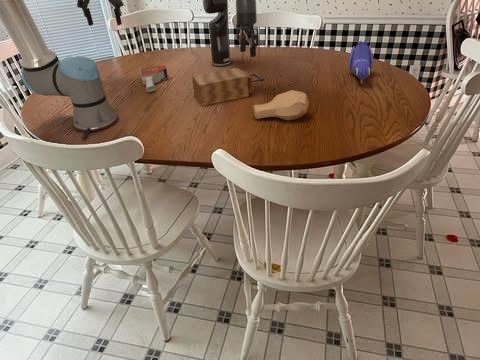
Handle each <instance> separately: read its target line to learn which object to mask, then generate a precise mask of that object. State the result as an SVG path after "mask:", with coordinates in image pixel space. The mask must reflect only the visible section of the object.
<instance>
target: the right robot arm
mask: <svg viewBox="0 0 480 360" xmlns="http://www.w3.org/2000/svg"><path fill="white" fill-rule="evenodd" d="M202 7H203V11H204V12H205V13H206V14H209V15H210V14H212V15H213V14H217V15H216V16H215V17H214V18H213V19H211V20H210V21H208V33H209V42H210V43H209V44H210V54H211V65H212V66H215V67H225V66H229V65H230V64H231V63H232V61H231V51H230V35H229V1H228V0H202ZM235 12H236V13H235V14H236V25H235V26H236V27H235V31H236V32H235V33H236V34H235V35H236V40H238V42H239V51H240V53H244V52H246V51H247V48H246V47H247V46H246V45H247V43H248V45H249V57H251V58H255V57H256V56H257V47H259V46H260V35H259V33H260V32H259V29H258V28H255V27H254V25H255V24H257V21H258V20H257V19H258V18H257V0H235ZM246 42H247V43H246Z"/></svg>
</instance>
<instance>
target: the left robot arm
mask: <svg viewBox="0 0 480 360" xmlns="http://www.w3.org/2000/svg"><path fill="white" fill-rule="evenodd" d="M107 1H108V2H109V3H110V4H111V5H112V6H113V13H114V16H115V21H116V25H117V27H118V26H121V25H122V24H123V23H122V19H121V17H122V10H121V8H122V7H123V6H124V4H125V3H124V2H123V0H107ZM90 2H91V0H77V2H76V3H77V4H76V7H77V8H80V9H82V12H83V13H82V14H83V16H84V18H86V21H87V24H88V27H91V26H93V25H94V21H93V17H92V14H91V10H90V8H89V7H88V6H89V5H90ZM0 21H1V24H2V25H3V26H4V28H5V30H6V32H7V33H8V36H9V37H10V38H11V41H12V43H13V44H14V46H15V47H16V49H17V51H18V53H19V54H20V56H21V58H22V59H21V62H20V65H21V69H20V74H21V75H20V78H21V82H22V83H23V84H24V86H25V87H26V88H27V89H28V90H29V91H30V92H31V93H32V94H35V95H41V96H45V97H51V96H54V97H69V99H70V101H71V104H72V108H73V114H72V117H73V118H72V119H73V125H74V128H75V129H76V131H78V132H84V134H83V136H82V138H81V139H82V140H83V141H84V140H86V139H87V136H88V135H89V133H92V132H99V131H102V130H105V129H107V128H110V127H111V126H113V125H115V124H116V122H117V121H118V116H117V113H116V111H115V110H114V108H113V107H112V105H111V103H110V102H109V101H108V99H107V96H106V92H105V89H104V87H103V86H104V85H103V83H102V79H101V73H100V71H99V69H98V66H97V64H96V62H95V61H94V60H93V59H91V58H89V57H86V56H80V55H79V56H78V55H76V56H67V57H64V58H62V59H59V57H58V55H57V53H56V52H55V51H53V50H51V49H49V48H48V46H47V44H46V41H45V40H44V38H43V36H42V34H41V32H40V30H39V28H38V26H37V24H36V22H35V20H34V18H33V16H32V14H31V13H30V10H29V8H28V7H27V5H26V2H25V1H24V0H0Z"/></svg>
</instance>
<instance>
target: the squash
mask: <svg viewBox="0 0 480 360" xmlns="http://www.w3.org/2000/svg"><path fill="white" fill-rule="evenodd" d="M309 104H310V101H309V98H308V95H307V93H305V92H303V91H298V90H293V89H291V90H288V91H285V92H283V93H279V94H277V95H276V96H275V97H273V99H272V100H271V101H269V102H266V103H262V104H254V105H253V107H252V110H253V112H254V115H253V116H254V117H255V119H256V120H259V119H263V118H269V117H270V118H271V117H272V118H279V119H280V120H285V121H293V120H298V119H300V118H302V117H303V116H305V115H306V114H307V112H308V108H309Z"/></svg>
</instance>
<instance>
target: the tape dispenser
mask: <svg viewBox="0 0 480 360" xmlns="http://www.w3.org/2000/svg"><path fill="white" fill-rule="evenodd" d="M153 69H154V70H153ZM137 71H138V73H139V77H140V79H141V82H142V84H143V85H144V86H146V87H145V91H146V92H147V93H152V92H154V91H156V86H155V84H157V83H160V82H161V81H162V80H163V81H164V80H168V77H169V75H168V70H167V67H166V65H165V64H164V65H162V64H161V65H156V66H150V67H143V68H142V67H140V68H138V70H137Z"/></svg>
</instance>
